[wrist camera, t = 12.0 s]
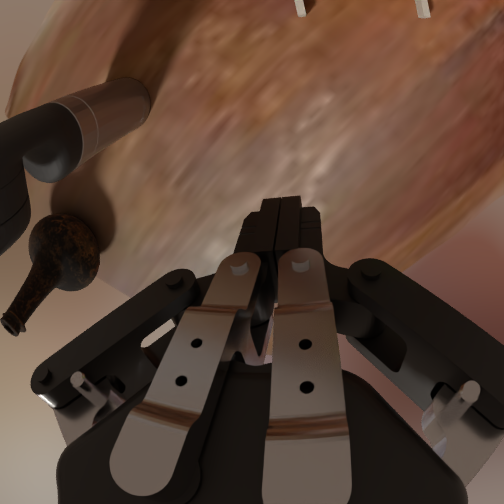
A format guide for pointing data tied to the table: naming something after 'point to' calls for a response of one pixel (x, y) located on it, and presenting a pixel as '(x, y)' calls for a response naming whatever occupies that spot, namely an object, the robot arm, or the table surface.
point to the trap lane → (420, 3)
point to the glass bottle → (54, 265)
